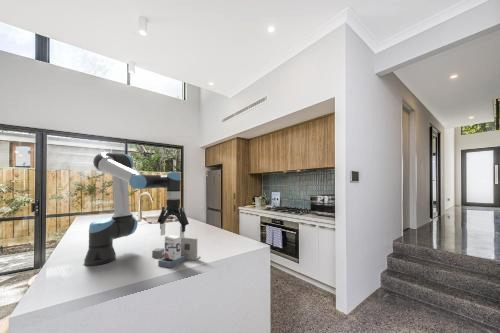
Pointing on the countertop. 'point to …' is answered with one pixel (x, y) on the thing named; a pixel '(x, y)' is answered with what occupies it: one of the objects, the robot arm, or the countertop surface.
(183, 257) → the dock
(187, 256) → the plate
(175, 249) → the ink box
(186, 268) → the countertop surface
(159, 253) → the brick
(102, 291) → the countertop surface
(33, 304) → the countertop surface
